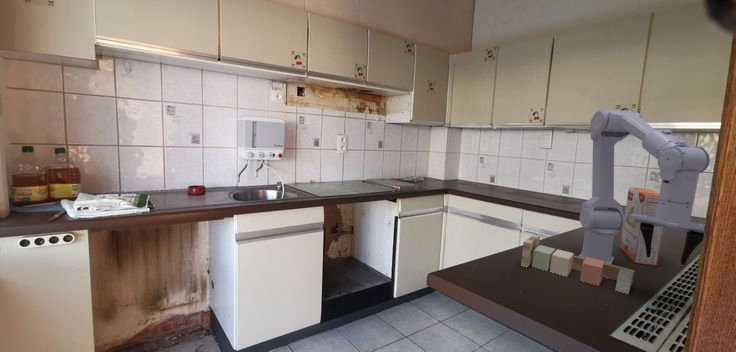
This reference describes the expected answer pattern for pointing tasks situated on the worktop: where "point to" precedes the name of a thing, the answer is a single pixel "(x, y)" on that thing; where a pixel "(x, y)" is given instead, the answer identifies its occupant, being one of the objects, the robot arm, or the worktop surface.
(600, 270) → the pink rectangular block
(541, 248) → the pale green block
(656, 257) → the cracker box
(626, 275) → the grey rectangular block
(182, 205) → the worktop surface
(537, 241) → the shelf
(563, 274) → the cream rectangular block
